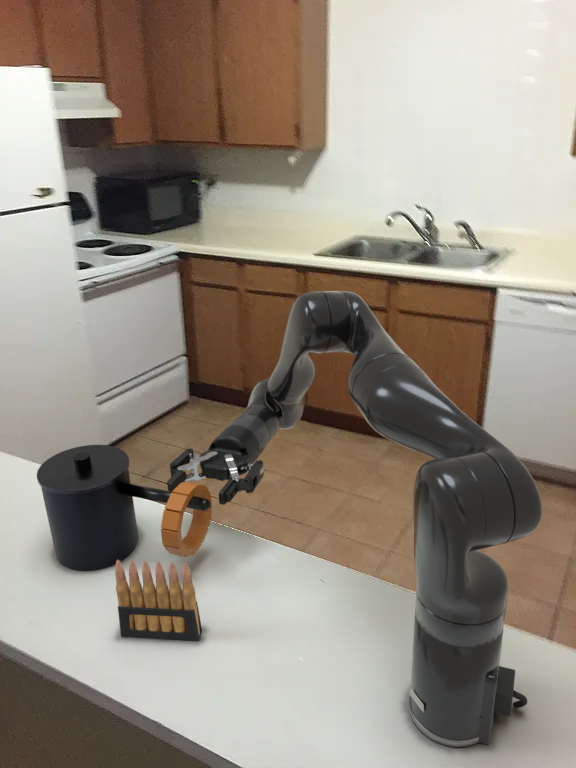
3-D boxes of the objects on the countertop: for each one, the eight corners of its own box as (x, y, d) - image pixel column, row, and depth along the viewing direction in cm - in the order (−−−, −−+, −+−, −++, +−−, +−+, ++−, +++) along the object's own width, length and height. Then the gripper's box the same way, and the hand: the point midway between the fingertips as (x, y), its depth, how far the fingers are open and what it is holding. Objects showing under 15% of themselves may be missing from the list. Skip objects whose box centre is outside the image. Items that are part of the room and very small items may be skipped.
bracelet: (214, 530, 104) (209, 472, 100) (180, 570, 95) (174, 509, 91) (199, 527, 105) (193, 469, 101) (165, 567, 96) (157, 505, 92)
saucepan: (235, 545, 106) (228, 456, 100) (194, 602, 95) (183, 505, 88) (88, 513, 116) (73, 429, 109) (35, 561, 104) (14, 471, 98)
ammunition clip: (202, 630, 90) (194, 558, 85) (199, 641, 88) (190, 568, 83) (125, 626, 91) (113, 555, 86) (120, 636, 89) (108, 564, 84)
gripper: (201, 418, 114) (151, 465, 100) (278, 430, 109) (237, 480, 96) (205, 456, 117) (156, 507, 104) (280, 469, 112) (240, 524, 99)
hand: (195, 494), depth 100 cm, fingers open, 8 cm apart
